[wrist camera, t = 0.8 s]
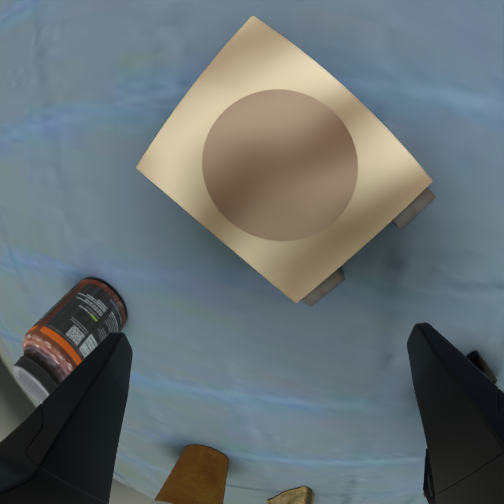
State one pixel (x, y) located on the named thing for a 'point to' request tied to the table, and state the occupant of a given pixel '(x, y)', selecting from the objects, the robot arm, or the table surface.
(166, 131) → the board
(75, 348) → the supplement bottle
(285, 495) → the rock
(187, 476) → the disposable coffee cup
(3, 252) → the table surface
